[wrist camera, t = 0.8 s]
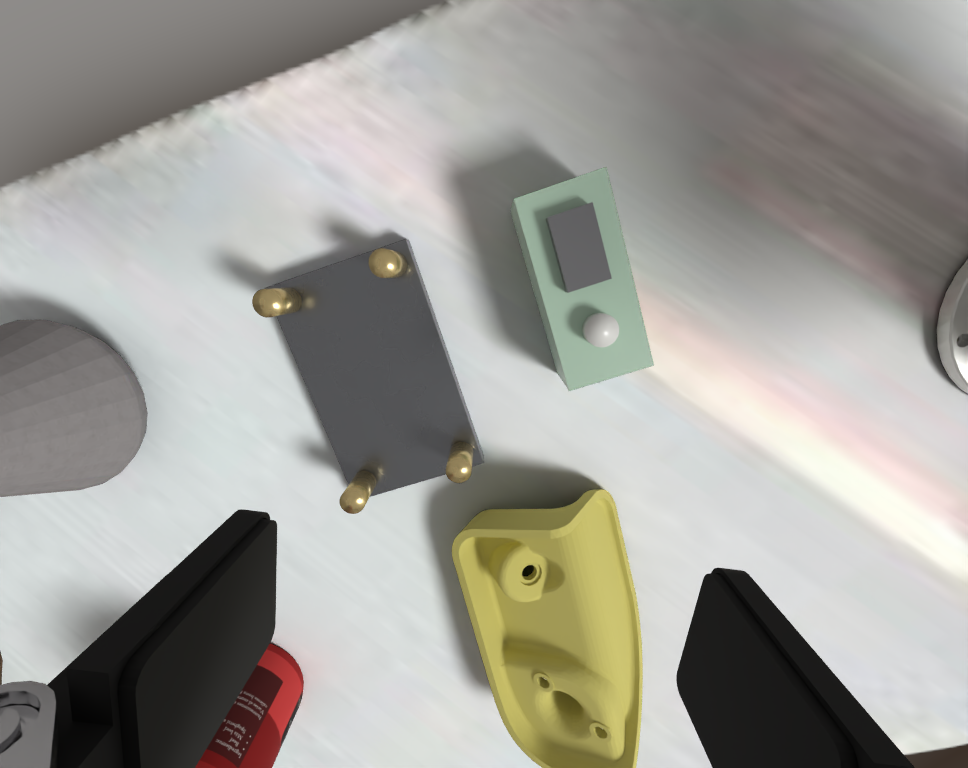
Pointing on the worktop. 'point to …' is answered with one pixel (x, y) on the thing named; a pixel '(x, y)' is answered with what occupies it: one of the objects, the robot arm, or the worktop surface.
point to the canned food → (258, 715)
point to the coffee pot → (64, 410)
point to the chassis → (376, 371)
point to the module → (582, 279)
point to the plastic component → (557, 629)
